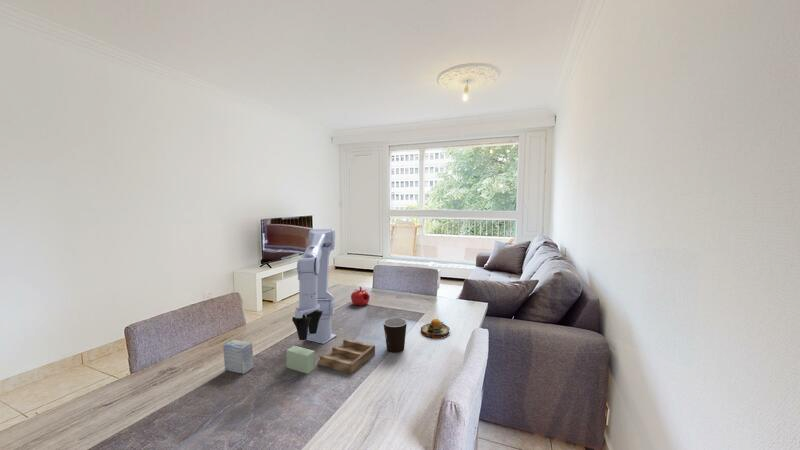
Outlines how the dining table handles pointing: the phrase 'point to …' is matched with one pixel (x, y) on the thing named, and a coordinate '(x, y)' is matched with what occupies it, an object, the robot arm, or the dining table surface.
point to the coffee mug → (395, 334)
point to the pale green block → (300, 359)
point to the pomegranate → (360, 297)
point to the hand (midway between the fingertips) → (308, 336)
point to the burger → (435, 329)
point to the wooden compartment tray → (348, 356)
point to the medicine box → (238, 356)
